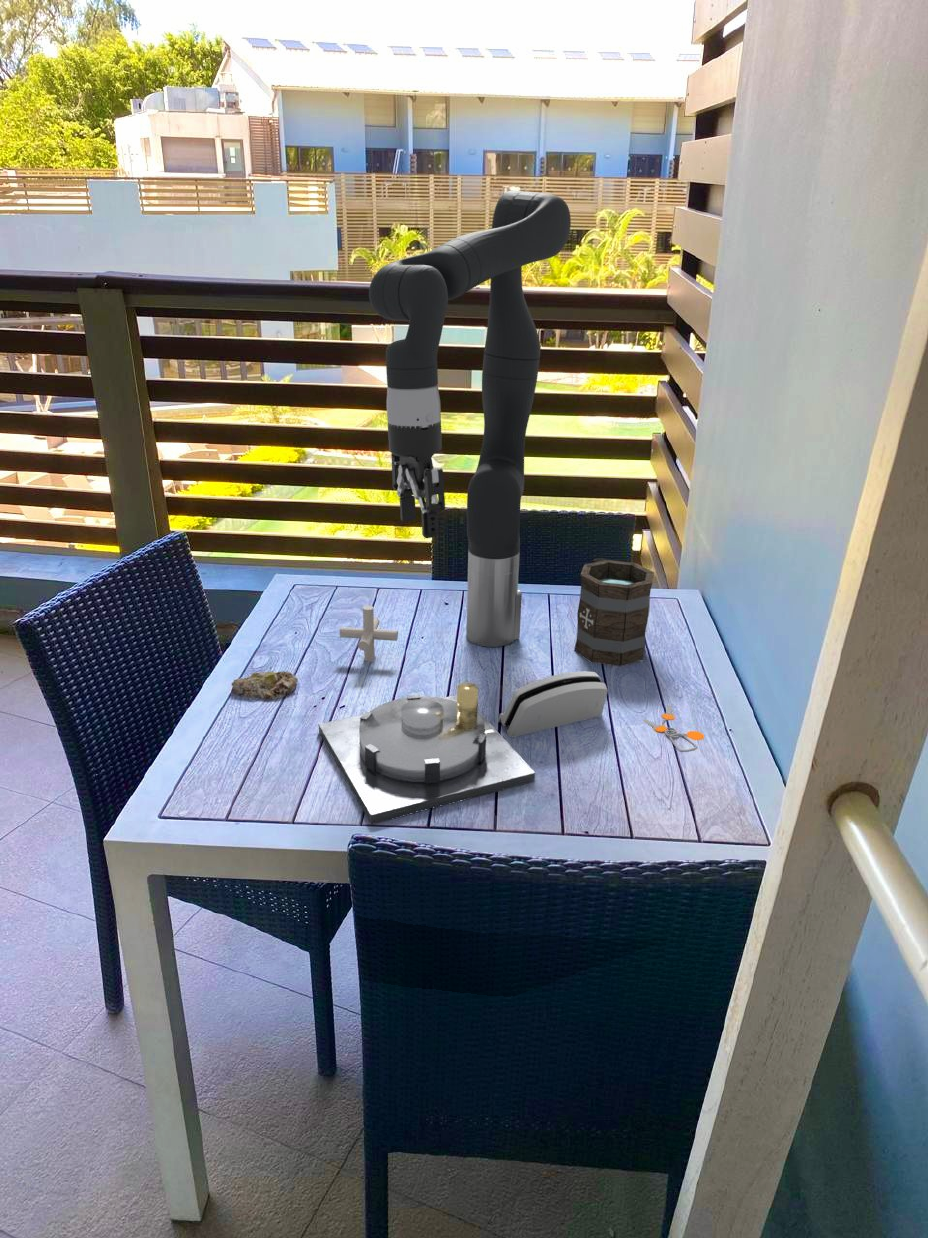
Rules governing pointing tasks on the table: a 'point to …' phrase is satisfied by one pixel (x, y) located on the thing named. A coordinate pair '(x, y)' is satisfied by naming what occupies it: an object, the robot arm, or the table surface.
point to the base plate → (404, 797)
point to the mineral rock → (265, 685)
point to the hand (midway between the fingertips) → (419, 528)
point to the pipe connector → (368, 633)
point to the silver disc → (424, 736)
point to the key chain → (661, 728)
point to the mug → (613, 612)
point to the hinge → (554, 702)
